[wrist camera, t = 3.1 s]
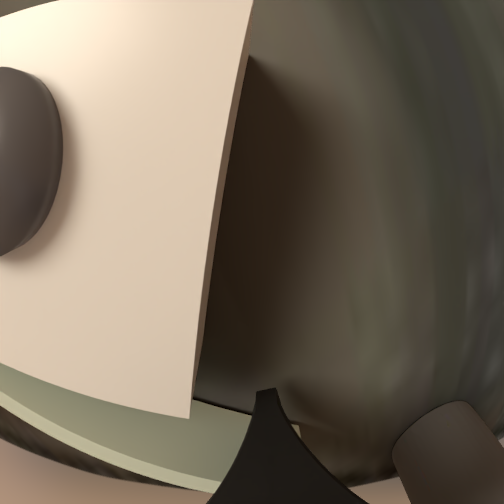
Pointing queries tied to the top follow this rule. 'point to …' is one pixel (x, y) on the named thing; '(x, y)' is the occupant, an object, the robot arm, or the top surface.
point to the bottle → (450, 458)
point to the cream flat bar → (132, 431)
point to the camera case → (115, 189)
